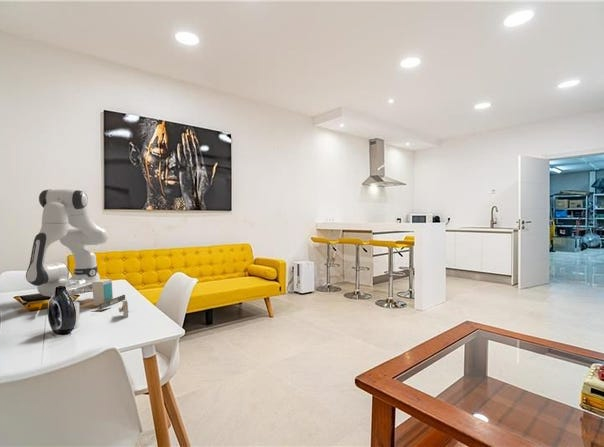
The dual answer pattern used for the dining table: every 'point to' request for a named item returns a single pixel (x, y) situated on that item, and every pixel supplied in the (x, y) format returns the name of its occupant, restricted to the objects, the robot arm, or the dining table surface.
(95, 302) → the carton
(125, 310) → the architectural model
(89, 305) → the shelf plank
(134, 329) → the dining table surface
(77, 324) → the white cup
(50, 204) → the robot arm
